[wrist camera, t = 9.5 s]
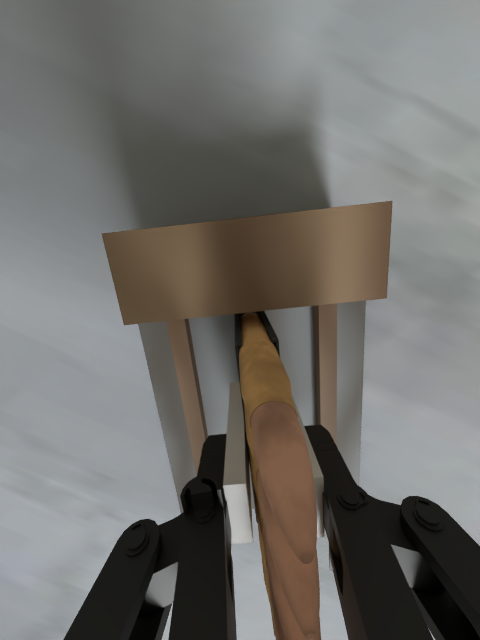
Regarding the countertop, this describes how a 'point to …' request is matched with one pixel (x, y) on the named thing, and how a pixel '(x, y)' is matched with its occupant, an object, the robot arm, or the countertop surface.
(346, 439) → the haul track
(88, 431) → the countertop surface
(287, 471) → the ammunition clip
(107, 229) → the countertop surface
